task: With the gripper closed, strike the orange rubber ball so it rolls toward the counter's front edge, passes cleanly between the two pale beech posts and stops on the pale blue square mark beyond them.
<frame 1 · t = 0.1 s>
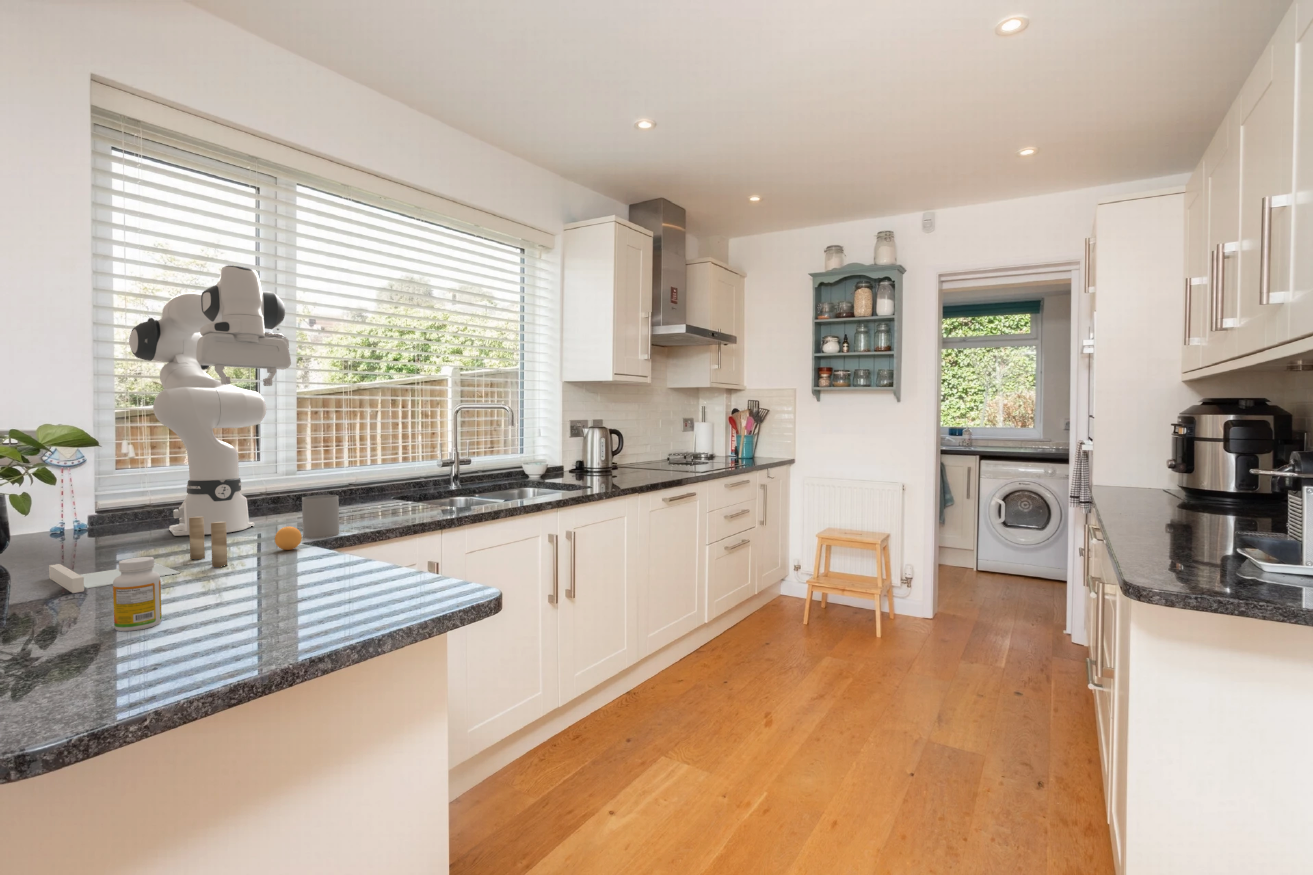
hand: (247, 385, 160), 39 cm above the countertop, tool pointing down, fingers open, 8 cm apart
supplement bottle: (138, 627, 94), on the countertop
post 2: (219, 566, 132), on the countertop
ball: (288, 538, 149), on the countertop
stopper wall: (66, 584, 118), on the countertop
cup: (321, 535, 168), on the countertop
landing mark: (124, 575, 125), on the countertop
post 1: (197, 558, 140), on the countertop
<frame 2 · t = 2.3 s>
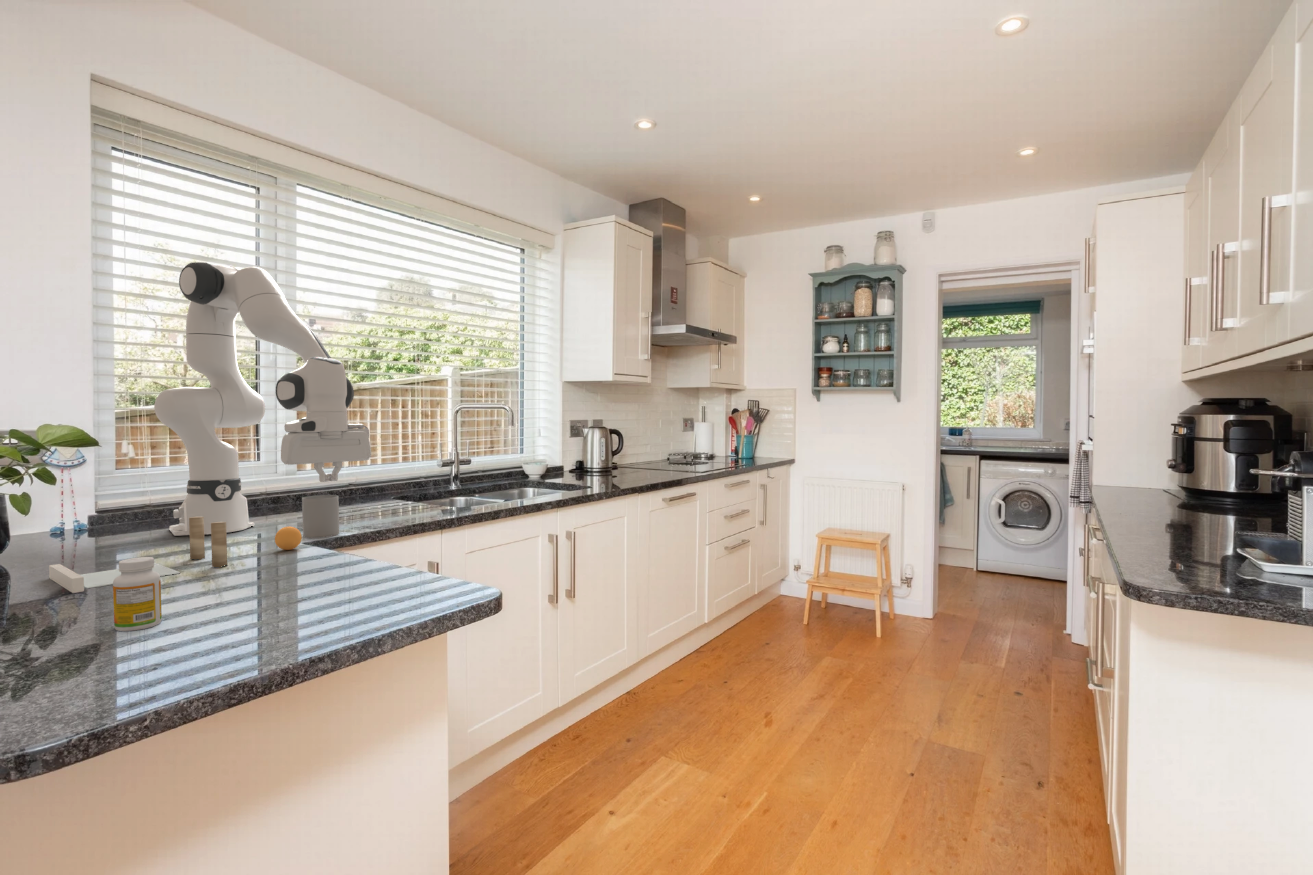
hand: (328, 481, 156), 15 cm above the countertop, tool pointing down, fingers closed
nothing on the countertop moved.
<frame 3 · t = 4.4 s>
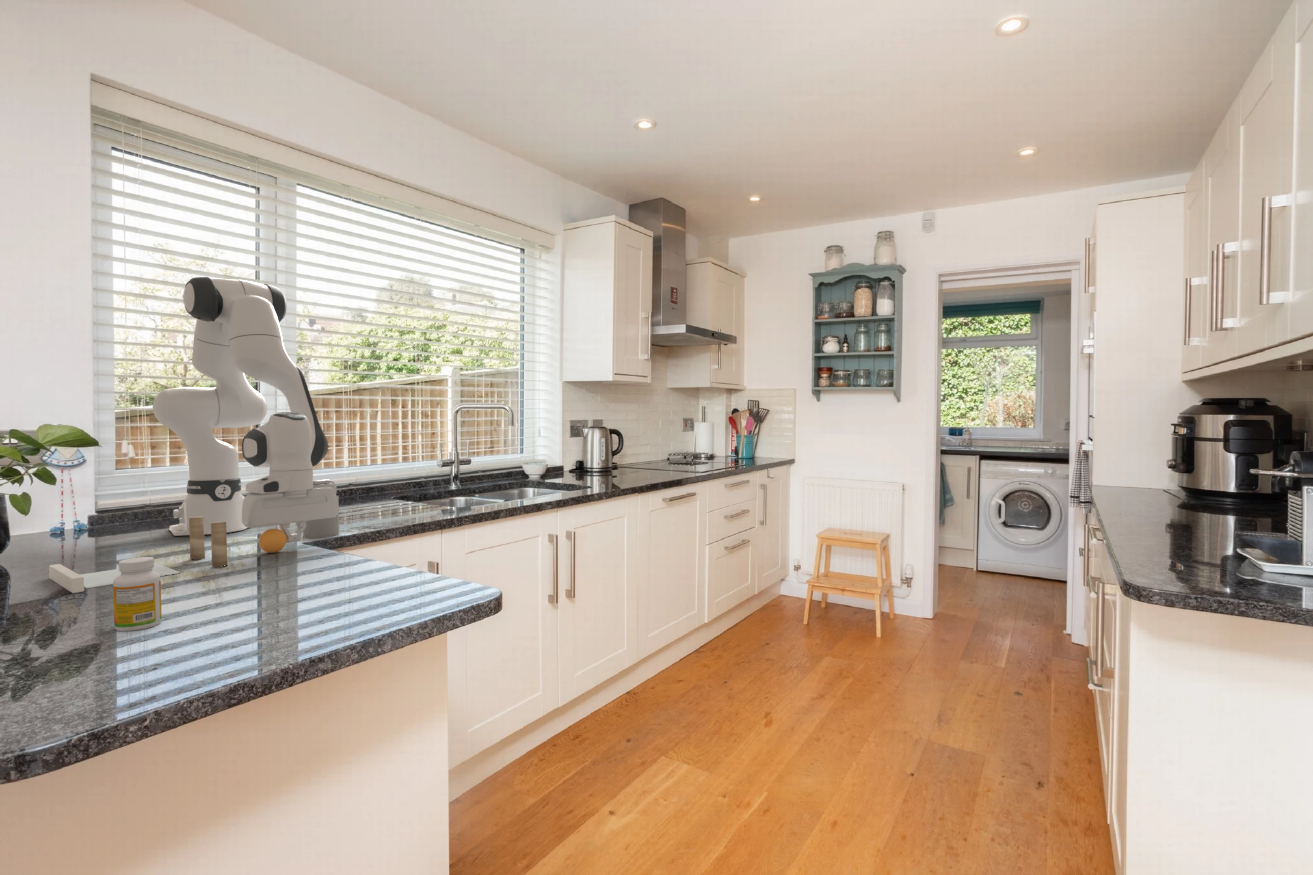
hand: (293, 541, 149), 2 cm above the countertop, tool pointing down, fingers closed
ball: (272, 540, 146), on the countertop
everything else where it was.
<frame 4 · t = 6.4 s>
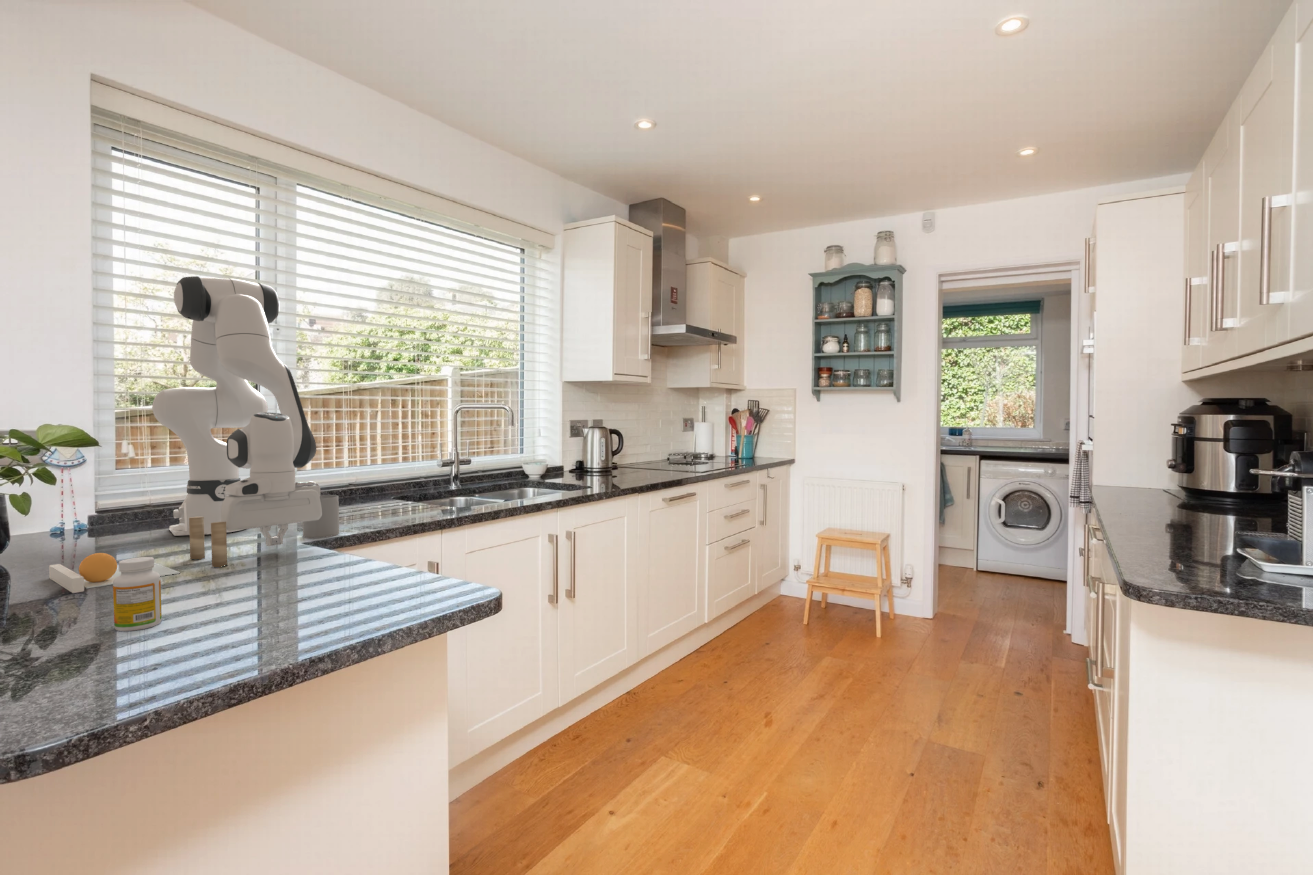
hand: (274, 544, 146), 2 cm above the countertop, tool pointing down, fingers closed
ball: (98, 567, 120), on the countertop
everything else where it was.
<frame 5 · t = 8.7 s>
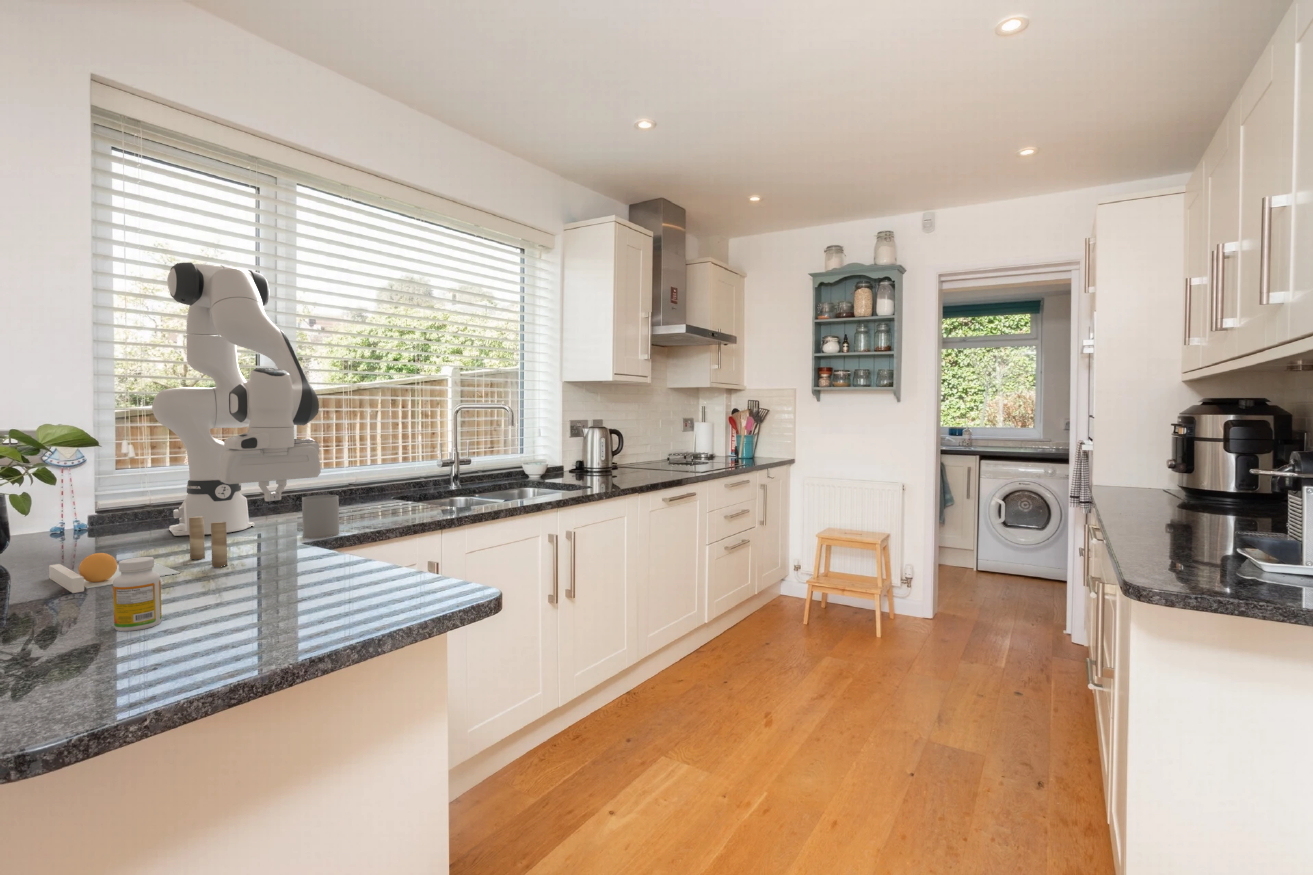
hand: (272, 500, 146), 12 cm above the countertop, tool pointing down, fingers closed
nothing on the countertop moved.
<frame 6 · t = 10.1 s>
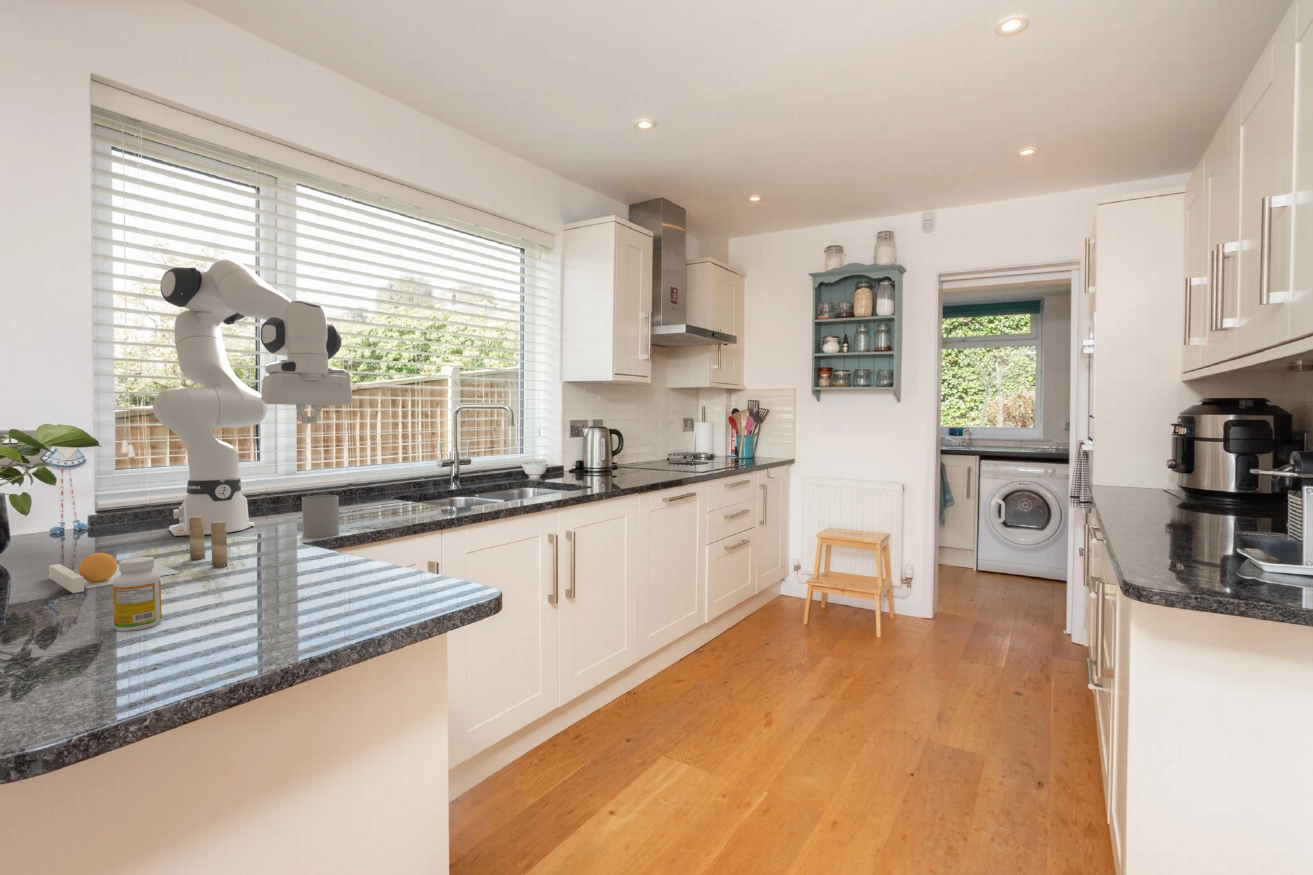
hand: (309, 423, 158), 29 cm above the countertop, tool pointing down, fingers closed
nothing on the countertop moved.
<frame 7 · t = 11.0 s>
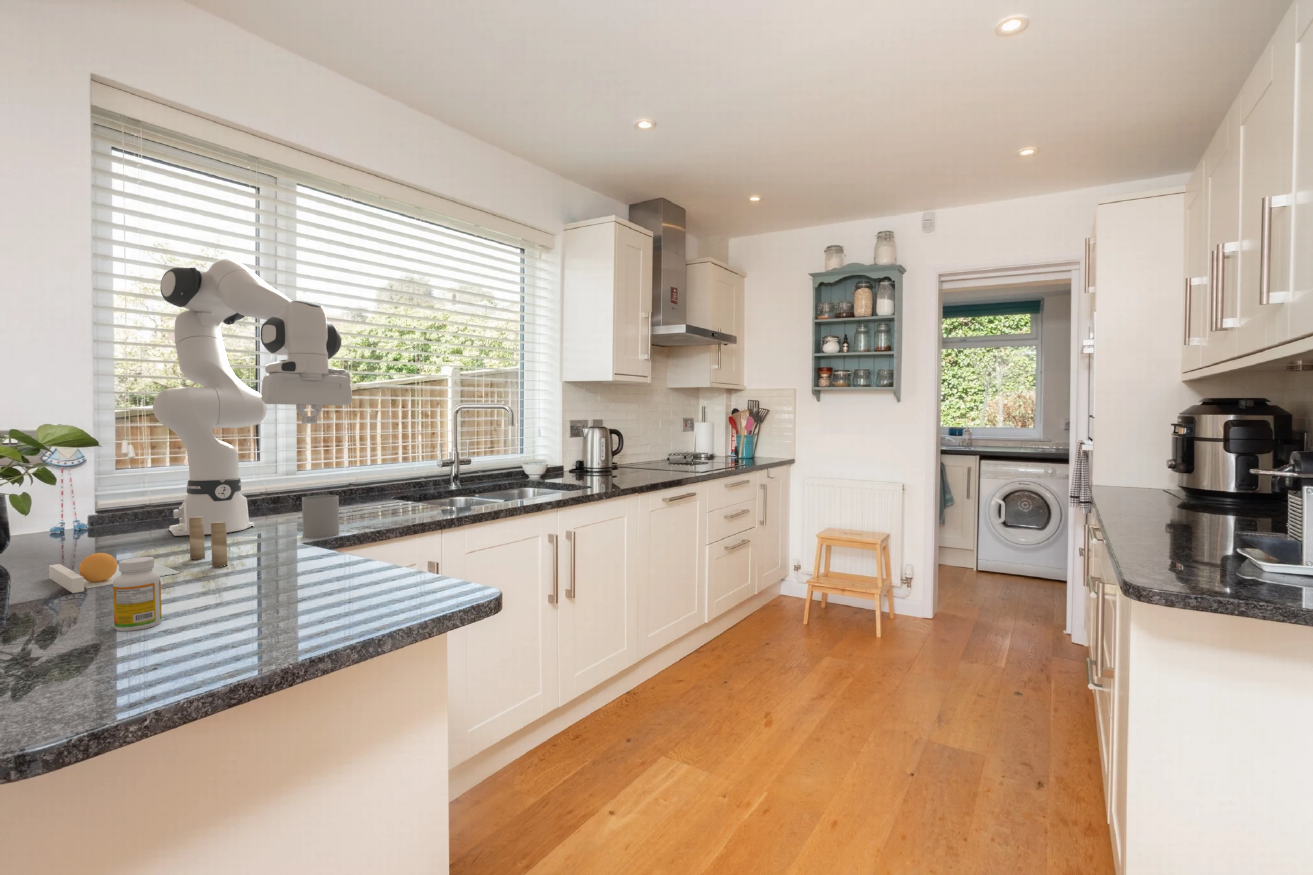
hand: (309, 423, 158), 29 cm above the countertop, tool pointing down, fingers closed
nothing on the countertop moved.
at the end: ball 5.1 cm from the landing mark (horizontally); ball never touched post 2; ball never touched post 1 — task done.
